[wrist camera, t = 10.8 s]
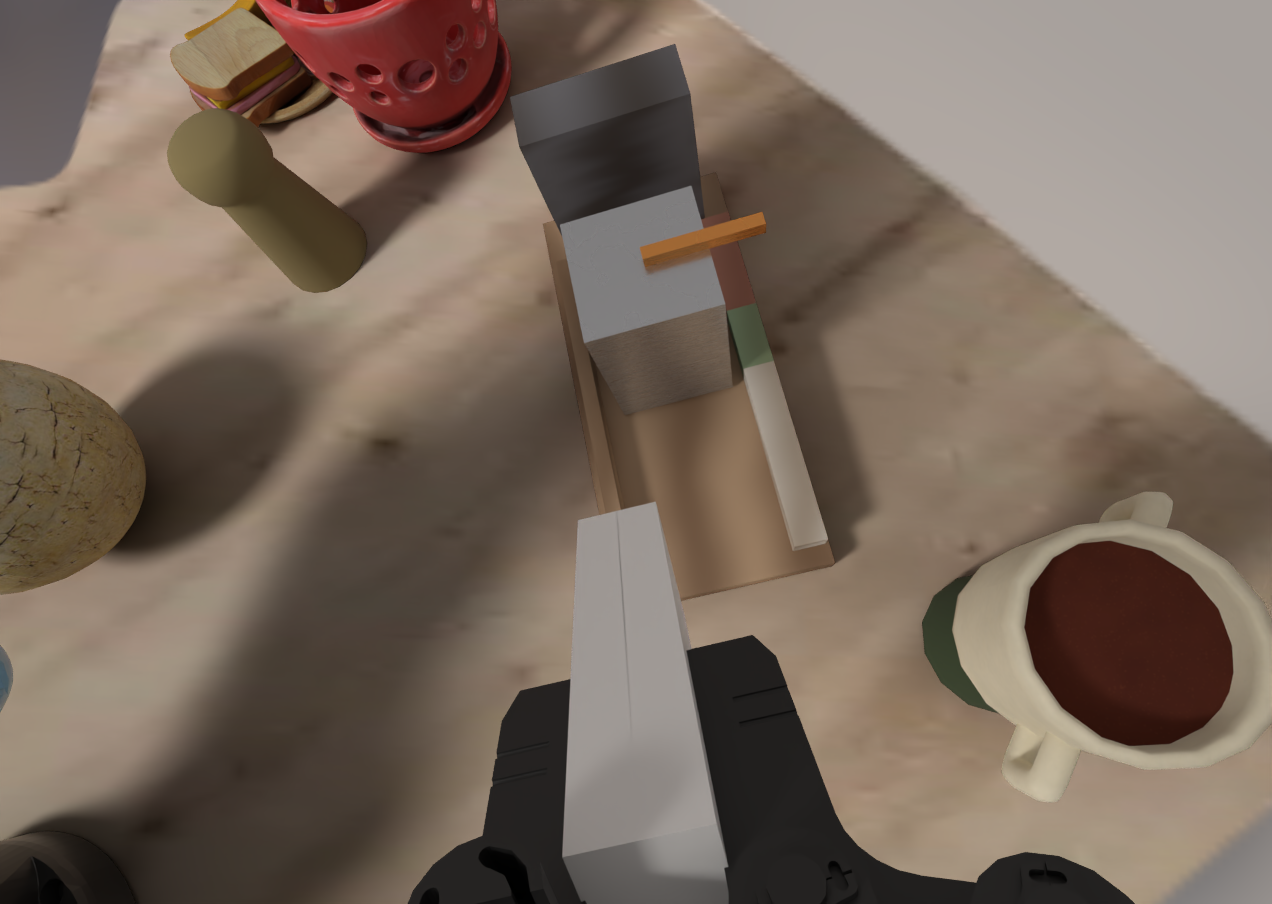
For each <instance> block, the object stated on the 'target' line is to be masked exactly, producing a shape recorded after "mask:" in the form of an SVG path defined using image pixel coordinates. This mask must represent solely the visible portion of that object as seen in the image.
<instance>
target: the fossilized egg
mask: <svg viewBox="0 0 1272 904" xmlns="http://www.w3.org/2000/svg"><path fill="white" fill-rule="evenodd" d="M145 485H146V467H145V462H144V458H143V454H142V452H141V449H140V447H139V445H138V443H137V441H136V439H135V437H134V434H133V433H132V431H131V429H130V427H129V426H128V425H127V424H126V423H125V422H124V420H123V419H122V418H121V417H120V416H119V415H118V414H117V413H116V411H115V410H114V409H113V408H112V407H111V406H110V405H109V404H108V403H107V402H105V401H104V400H102V399H101V398H100V397H98V396H96V395H95V394H93V393H92V392H90V391H89V390H87V389H86V388H84V387H83V386H81V385H79V384H77V383H76V382H74V381H72V380H71V379H68V378H65V377H63V376H60V375H58V374H55V373H52V372H49V371H46V370H43V369H40V368H37V367H34V366H31V365H27V364H22V363H17V362H12V361H6V360H0V595H2V594H10V593H18V592H24V591H27V590H30V589H34V588H37V587H40V586H44V585H47V584H50V583H53V582H55V581H58V580H61V579H64V578H67V577H69V576H71V575H73V574H74V573H76V572H78V571H80V570H82V569H83V568H85V567H87V566H89V565H90V564H92V563H93V562H95V561H97V560H98V559H100V558H101V557H102V556H103V555H105V554H106V553H107V552H109V551H110V550H111V549H112V548H113V547H114V546H115V545H116V544H117V543H118V542H119V541H120V540H121V539H122V537H123V536H124V535H125V533H126V532H127V531H128V529H129V528H130V526H131V525H132V523H133V522H134V520H135V518H136V516H137V514H138V512H139V510H140V507H141V504H142V501H143V498H144V492H145Z"/></svg>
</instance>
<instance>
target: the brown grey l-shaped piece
mask: <svg viewBox="0 0 1272 904" xmlns="http://www.w3.org/2000/svg"><path fill="white" fill-rule="evenodd" d="M510 100H511V105H512V110H513V116H514V121H515V126H516V132H517V137H518V142H519V147H520V149H521V151H522V153H523V156H524V158H525V160H526V162H527V164H528V166H529V168H530V170H531V172H532V175H533V177H534V179H535V181H536V183H537V185H538V187H539V189H540V191H541V194H542V196H543V198H544V200H545V202H546V204H547V206H548V208H549V210H550V212H551V215H552V217H553V219H554V221H551V222H547V223H544V224H543V227H544V232H545V237H546V242H547V247H548V252H549V257H550V263H551V268H552V273H553V278H554V283H555V288H556V293H557V299H558V304H559V309H560V314H561V319H562V324H563V329H564V335H565V340H566V345H567V350H568V355H569V360H570V365H571V371H572V376H573V381H574V386H575V391H576V396H577V402H578V407H579V412H580V417H581V422H582V427H583V432H584V438H585V443H586V448H587V453H588V458H589V463H590V468H591V474H592V479H593V484H594V489H595V494H596V499H597V504H598V510H599V515H602V514H606V513H610V512H614V511H619V510H623V509H627V508H631V507H635V506H640V505H644V504H648V503H652V502H656V505H657V509H658V513H659V517H660V520H661V524H662V528H663V532H664V536H665V540H666V544H667V548H668V552H669V556H670V560H671V564H672V568H673V572H674V576H675V580H676V583H677V587H678V591H679V595H680V599H681V601H682V600H686V599H691V598H695V597H700V596H704V595H708V594H713V593H717V592H721V591H726V590H730V589H734V588H739V587H743V586H747V585H752V584H756V583H761V582H765V581H769V580H774V579H778V578H782V577H787V576H791V575H795V574H800V573H804V572H809V571H813V570H817V569H822V568H826V567H830V566H832V565H833V564H834V563H835V561H834V557H833V554H832V551H831V548H830V544H829V541H828V537H827V533H826V530H825V527H824V524H823V520H822V517H821V514H820V511H819V507H818V504H817V501H816V497H815V494H814V491H813V488H812V484H811V481H810V478H809V474H808V471H807V468H806V465H805V461H804V458H803V455H802V452H801V448H800V445H799V442H798V438H797V435H796V432H795V429H794V425H793V422H792V419H791V415H790V412H789V409H788V406H787V402H786V399H785V396H784V393H783V389H782V386H781V383H780V379H779V376H778V373H777V370H776V366H775V363H774V360H773V356H772V353H771V350H770V347H769V343H768V340H767V337H766V334H765V330H764V327H763V324H762V320H761V317H760V314H759V311H758V307H757V304H756V301H755V297H754V294H753V291H752V288H751V284H750V281H749V278H748V275H747V271H746V268H745V265H744V261H743V258H742V255H741V252H740V248H739V245H738V242H737V241H735V242H731V243H728V244H724V245H721V246H717V247H714V248H710V252H711V256H712V259H713V263H714V266H715V270H716V273H717V277H718V280H719V284H720V287H721V291H722V294H723V298H724V301H725V306H726V317H727V328H728V340H729V351H730V362H731V373H732V385H733V387H730V388H727V389H723V390H719V391H715V392H711V393H708V394H704V395H700V396H696V397H692V398H689V399H685V400H681V401H677V402H673V403H669V404H666V405H662V406H658V407H654V408H650V409H647V410H643V411H639V412H635V413H631V414H628V415H625V414H624V412H623V411H622V409H621V407H620V405H619V404H618V402H617V400H616V398H615V397H614V395H613V393H612V391H611V390H610V388H609V386H608V384H607V382H606V381H605V379H604V377H603V375H602V374H601V372H600V370H599V368H598V367H597V365H596V363H595V361H594V360H593V358H592V356H591V354H590V353H589V351H588V349H587V347H586V346H585V344H584V340H583V335H582V331H581V326H580V321H579V316H578V311H577V306H576V301H575V296H574V291H573V286H572V282H571V277H570V272H569V267H568V262H567V257H566V252H565V247H564V242H563V238H562V233H561V228H560V224H564V223H567V222H571V221H574V220H577V219H581V218H584V217H587V216H591V215H594V214H597V213H601V212H604V211H608V210H611V209H614V208H618V207H621V206H624V205H628V204H631V203H634V202H638V201H641V200H645V199H648V198H651V197H655V196H658V195H661V194H665V193H668V192H671V191H675V190H678V189H682V188H685V187H688V186H692V190H693V193H694V197H695V200H696V204H697V207H698V211H699V214H700V218H701V221H702V225H703V228H708V227H711V226H715V225H718V224H721V223H725V222H728V221H731V219H730V215H729V212H728V210H727V206H726V203H725V200H724V197H723V193H722V190H721V187H720V184H719V180H718V177H717V174H716V172H715V173H712V174H708V175H705V176H702V177H700V172H699V163H698V155H697V147H696V138H695V130H694V121H693V113H692V104H691V96H690V91H689V88H688V85H687V81H686V78H685V75H684V71H683V68H682V65H681V62H680V58H679V55H678V52H677V48H676V45H675V44H673V45H670V46H667V47H664V48H661V49H658V50H655V51H651V52H648V53H645V54H642V55H639V56H636V57H633V58H630V59H627V60H623V61H620V62H617V63H614V64H611V65H608V66H605V67H602V68H599V69H595V70H592V71H589V72H586V73H583V74H580V75H577V76H574V77H571V78H567V79H564V80H561V81H558V82H555V83H552V84H549V85H546V86H543V87H539V88H536V89H533V90H530V91H527V92H524V93H521V94H518V95H515V96H511V97H510Z"/></svg>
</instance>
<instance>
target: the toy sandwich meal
mask: <svg viewBox="0 0 1272 904" xmlns="http://www.w3.org/2000/svg"><path fill="white" fill-rule="evenodd" d="M285 1H286V3H287V4H288V6H289V7H290V8H292V3H291V0H285ZM324 5H325V7H326V9H327V10H328V11H329V12H330V13H332V12H333V10H334V1H333V0H324ZM185 37H186V39H187V40H188V41H186V42H184V43H182V44H179V45H176V46H175V47H173V49H172V50H171V53H170V57H171V62H172V64H173V66H174V68H175V69H176V71H177V72H178V73H179V75H180V76H181V77H182V78H183V80H184V81H185V82H186V83H187V84H188V85H189V88H190V92H191V95H192V97H193V99H194V101H195V102H196V103H197V105H198V106H199V107H200V108H201V110H202V111H204V110H207V109H213V108H220V109H226V110H230V111H233V112H236V113H238V114H240V115H241V116H243V117H245V118H246V119H248V120H249V121H251V122H252V123H254V124H255V125H256V126H257V128H258V127H259V125H260V123H278V122H283V121H287V120H291V119H294V118H296V117H299V116H301V115H303V114H305V113H307V112H309V111H311V110H312V109H314V108H315V107H317V106H318V105H320V104H321V103H322V102H324V101H325V100H326V99H327V98H328V97H329V96H330V95H331V94H332V93H333V92H332V91H331V90H330V89H329V88H328V87H327V86H326V85H325V84H324V83H323V82H322V81H321V80H319V79H318V78H317V77H316V76H315V75H314V74H313V73H312V72H311V71H310V70H309V69H308V68H307V66H306V65H305V64H304V63H303V62H302V61H301V60H300V58H299V57H298V56H297V55H296V54H295V53H294V51H293V50H292V49H291V48H290V47H289V45H288V44H287V43H286V42H285V41H284V39H283V38H282V37H281V35H280V34H279V33H278V31H277V30H276V29H275V27H274V26H273V25H272V23H271V22H270V21H269V19H268V18H267V16H266V15H265V14H264V12H263V11H262V9H261V8H260V7H259V5H258V4H257V2H256V0H237V2H236V3H235V4H234V5H233V6H232V7H231V8H230V9H228V10H227V11H226V12H224V13H223V14H222V15H220V16H219V17H217V18H215V19H213V20H212V21H210V22H208V23H206V24H204V25H202V26H201V27H198V28H196V29H194V30H192V31H190V32H188V33H186V34H185Z"/></svg>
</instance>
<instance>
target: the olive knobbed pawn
mask: <svg viewBox="0 0 1272 904" xmlns="http://www.w3.org/2000/svg"><path fill="white" fill-rule="evenodd" d="M167 157H168V163H169V166H170V169H171V171H172V173H173V175H174V177H175V178H176V180H177V181H178V182H179V184H180V185H181V186H182V187H183V188H184V189H185V190H186V191H188V192H189V193H190V194H192V195H193V196H195V197H196V198H198V199H199V200H201V201H203V202H205V203H207V204H209V205H212V206H217V207H222V208H223V209H224V210H225V211H226V212H227V213H228V214H229V216H230V217H231V218H232V219H233V220H234V221H235V222H236V223H237V224H238V225H239V226H240V227H241V228H242V229H243V230H244V232H245V233H246V234H247V235H248V236H249V237H250V238H251V239H252V240H253V241H254V242H255V243H256V244H257V245H258V246H259V247H260V249H261V250H262V251H263V252H264V253H265V254H266V255H267V256H268V257H269V258H270V259H271V260H272V261H273V262H274V263H275V264H276V266H277V267H278V268H279V269H280V270H281V271H282V272H283V273H284V274H285V275H286V276H287V277H288V278H289V279H290V280H291V282H292V283H293V284H295V285H296V286H297V287H299V288H300V289H302V290H304V291H308V292H313V293H317V292H327V291H329V290H332V289H334V288H337V287H339V286H341V285H342V284H344V283H345V282H346V281H348V280H349V279H350V278H351V277H352V276H353V275H354V274H355V273H356V271H357V270H358V269H359V268H360V266H361V264H362V261H363V259H364V257H365V254H366V247H367V241H366V236H365V232H364V230H363V229H362V228H361V226H360V225H359V223H357V222H356V221H355V220H354V219H352V218H351V217H350V216H348V215H347V214H346V213H345V212H343V211H342V210H341V209H339V208H338V207H337V206H336V205H334V204H333V203H332V202H330V201H329V200H328V199H327V198H325V197H324V196H323V195H321V194H320V193H319V192H318V191H316V190H315V189H314V188H312V187H311V186H310V185H309V184H307V183H306V182H305V181H303V180H302V179H301V178H300V177H298V176H297V175H296V174H294V173H293V172H292V171H291V170H289V169H288V168H287V167H285V166H284V165H283V164H282V163H280V162H279V161H278V160H276V159H275V158H274V157H273V152H272V148H271V146H270V145H269V143H268V141H267V139H266V138H265V136H264V135H263V133H262V132H261V131H260V130H259V129H258V128H257V126H256V125H255V124H254V123H252V122H251V121H249V120H248V119H246V118H245V117H243V116H241V115H240V114H238V113H236V112H233V111H230V110H226V109H220V108H213V109H207V110H204V111H201V112H199V113H197V114H194V115H192V116H191V117H189V118H188V119H187V120H185V121H184V122H183V123H182V124H181V125H180V126H179V127H178V128H177V130H176V131H175V133H174V135H173V136H172V138H171V140H170V142H169V146H168V150H167Z"/></svg>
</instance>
